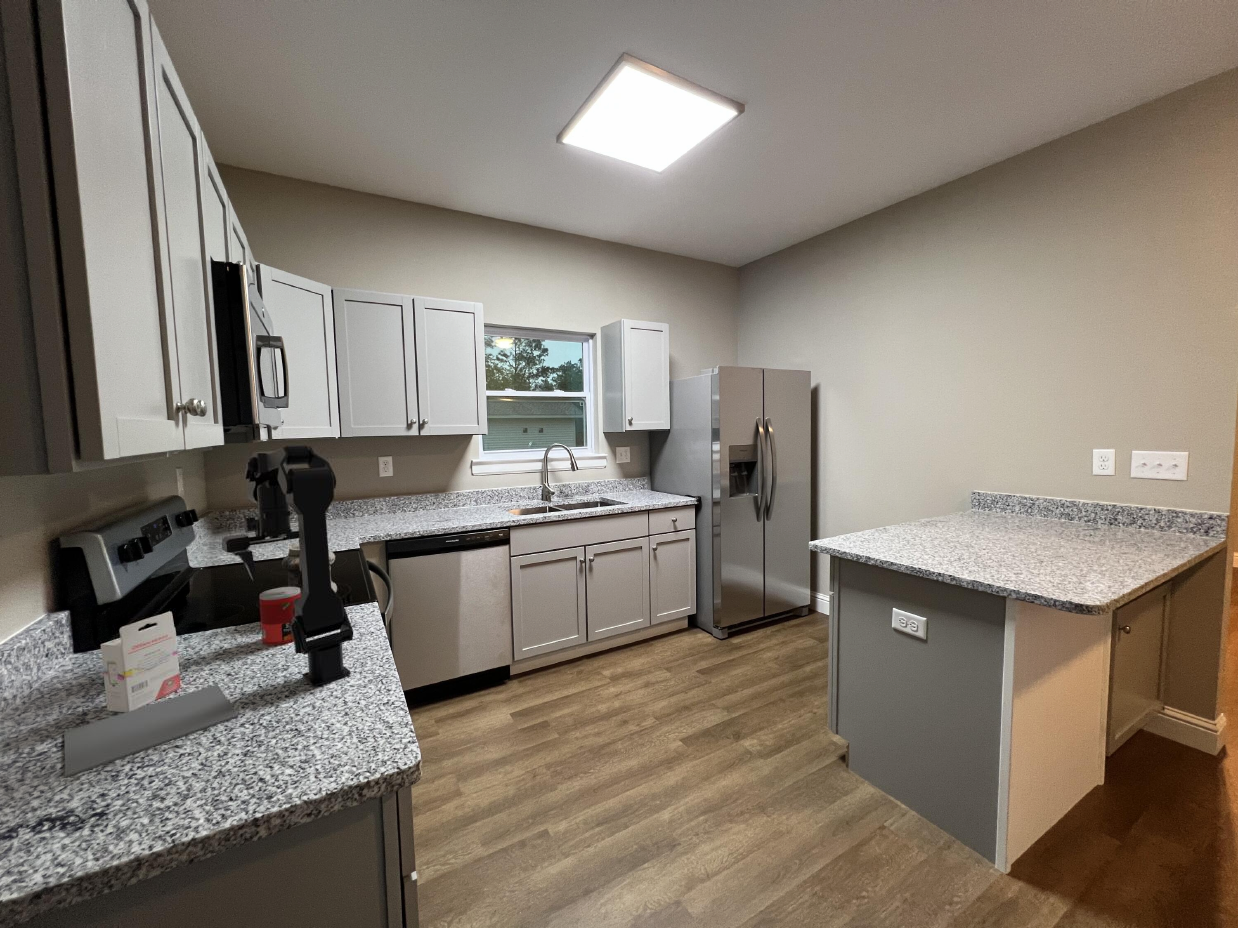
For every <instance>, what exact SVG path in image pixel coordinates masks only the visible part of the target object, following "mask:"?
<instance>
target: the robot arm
mask: <svg viewBox="0 0 1238 928" xmlns="http://www.w3.org/2000/svg"><path fill="white" fill-rule="evenodd" d="M304 465H307V466H308V467H300V466H304ZM296 467H297V468H296ZM298 467H299V468H298ZM336 478H337V477H336V475H335V472H334V470H333V467H331V464H330V463H329V461H328V460H326V459H325V458H323V457H322V456H320V455H318V454H317V453H315V451H314V450H313V447H312V446H311V445H308V444H287V445H284V446H280V448H278V449H277V450H273V451H269V450H268V451H254V452H253V453H252V454H251V456H249V457H248V461H247V462H246V465H245V469H244V479H245V480H246V482H247V483H250V484H249V485H248V487H247V488H246V497H247V499H249V501H251V502H252V503H254V504H257V508H258V512H257V519H256V517H255V516H252V517H244V519H243V523H244V524H243V525H244V532H245V533H246V534H244V533H243V534H236V535H229V536H224V537H223V538H222V539H221V550H222V551H224V552H225V553H227V554H232V555H233V556H236V557H237V556H238V557H239V558H240V559H241V561H242V563H243V564H244V566H245V568H246V570H247V571H248V575H249V576H250V578H251V580H252V581H256V577H257V576H256V573H257V572H256V567H255V566H256V565H255V561H254V555H253V551H252V550H251V549H250V547H251V546H255V545H265V544H270V543H275V542H276V543H278V542H283V541H289V540H298V544H299V546H300V556H299V567H300V571H302V579H303V592H302V593H301V595H300V597H299V598H296V600H295V602H294V608H295V617H293V619H292V623H291V626H290V628H291V632H292V636H293V640H294V641H293V644H294V653H295V654H302V655H304V656H305V655H307V662H308V663H307V664H308V672H304V673H302V678H303V679H304V680H305V681H306V682H307V683H308V684H309V685H310V686H311V687H312V688H315V687H318V686H322V685H324V684H327V683H330V682H332V681H335V680H338V679H341V678H343V677H346V676H349V675H351V674H352V673H351V670H349V668H347V667H346V666H344V657H343V656H344V653H343V643H345V642H350V641H353V640H354V639H353V638H354V629H353V627H352V624H351V621H350V618H349V615H348V613H347V611H346V607H345V606H344V605H343V599H342V598H341V597H340V596H339V595H338V593H337V591H336V592H335V591H334V590H333V589H332V587H331V581H332V576H330V567H331V566H330V563H329V550H330V549H329V540H328V527H327V514H326V513H327V512H328V510H329V508H330V506H331V504H332V503H333V502H334V499H335V490H336V487H337V479H336ZM290 508H291V509H292V510H293V511H294V512H295V514H296V515H297V525H298V530H293V531H292V528H291V516H292V515H291V510H290ZM248 533H249V534H250V533H254V534H255V536H250V537H249V536H248V535H247V534H248ZM328 549H329V550H328ZM336 631H337V632H336ZM338 631H339V632H338ZM332 632H333V633H332ZM328 633H331V634H328ZM325 634H328V635H325ZM322 635H325V636H322ZM319 636H321V637H319ZM315 637H316V638H315ZM311 638H314V639H311ZM308 639H311V640H308Z"/></svg>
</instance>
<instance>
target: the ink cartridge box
mask: <svg viewBox="0 0 1238 928" xmlns="http://www.w3.org/2000/svg"><path fill="white" fill-rule="evenodd" d="M148 624H149V625H152V624H156V625H153V626H151V627H148V628H144V629H141V628H143V627H145V626H146V625H148ZM139 629H141V630H140V631H139ZM177 642H178V641H177V632H176V627H175V624H174V618H173V612H172V611H167V612H165V613H162V614H158V615H155V616H151V617H147V618H144V619H142V620H139V621H136V622H133V623H130V624H127V625H124V626H121V627H120V628H119V638H116V639H115V638H114V639H113V640H110V641H107V642H104V643H101V644H100V653H101V662H102V672H103V681H104V688H105V689H104V691H105V699H106V708H107V711H109V712H118V713H126V712H129V711H132V710H135V709H139V708H142V707H145V706H147V705H148V704H150V703H153V702H154V701H156V700H159V699H160V698H162V697H165V696H167V695H169V694H171V693H173V692H176V691H178V690H179V689H181V687H182V686H181V675H180V668H179V666H180V664H179V663H180V662H179V653H178V644H177Z"/></svg>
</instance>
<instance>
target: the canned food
mask: <svg viewBox="0 0 1238 928" xmlns="http://www.w3.org/2000/svg"><path fill="white" fill-rule="evenodd" d="M300 595H301V591H300V588H298V587H288V586H281V587H277V588H272V589H268V590H265V591H262V592H261V593H260V594H259V615H260V628H261V629H260V630H261V639H262V640H261V641H262V642H263V644H264V645H266V646H281V644H282V645H286V644H289V643H294V640H293V636H292V632H291V628H290V626H291V623H292V619H293V617H295V608H294V602H295V600H296V598H299V597H300Z"/></svg>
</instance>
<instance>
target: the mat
mask: <svg viewBox="0 0 1238 928" xmlns="http://www.w3.org/2000/svg"><path fill="white" fill-rule="evenodd" d="M238 717H239V714H238V713H237V712H236V710H235V708H234V707H233V705H232V704H231V702H230V701H229V700H228V698H227V697H226V695H225V693H224V692H223V690H222V689H221V688H220V686H219V684H214V685H211V686H207V687H204V688H201V689H198V690H194V691H192V692H191V691H190V692H188V693H185V694H182V695H178V696H175V697H172V698H169V699H165V700H161V701H158V702H156V703H152V704H149V705H148V704H147V705H144V706H142V707H140V708H138V709H135V710H132V711H129V712H121V713H119V714H117V715H113V716H110V717H106V718H103V719H99V720H97V721H93V722H90V723H86V724H83V725H81V726H77V727H74V728H70V729H67V730H65V731H64V778H69V777H71V776H75V775H77V774H80V773H83V772H86V771H89V770H91V769H94V768H98V767H101V766H103V765H106V764H108V763H111V762H115V761H117V760H120V759H123V758H126V757H129V756H131V755H134V754H137V753H139V752H142V751H145V750H148V749H150V748H154V747H158V746H160V745H163V744H165V743H168V742H171V741H173V740H174V741H175V740H176V739H180V738H183V737H185V736H188V735H191V734H194V733H196V732H199V731H201V730H204V729H208V728H210V727H213V726H216V725H218V724H219V725H220V724H222V723H224V722H228V721H230V720H233V719H237V718H238Z"/></svg>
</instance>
